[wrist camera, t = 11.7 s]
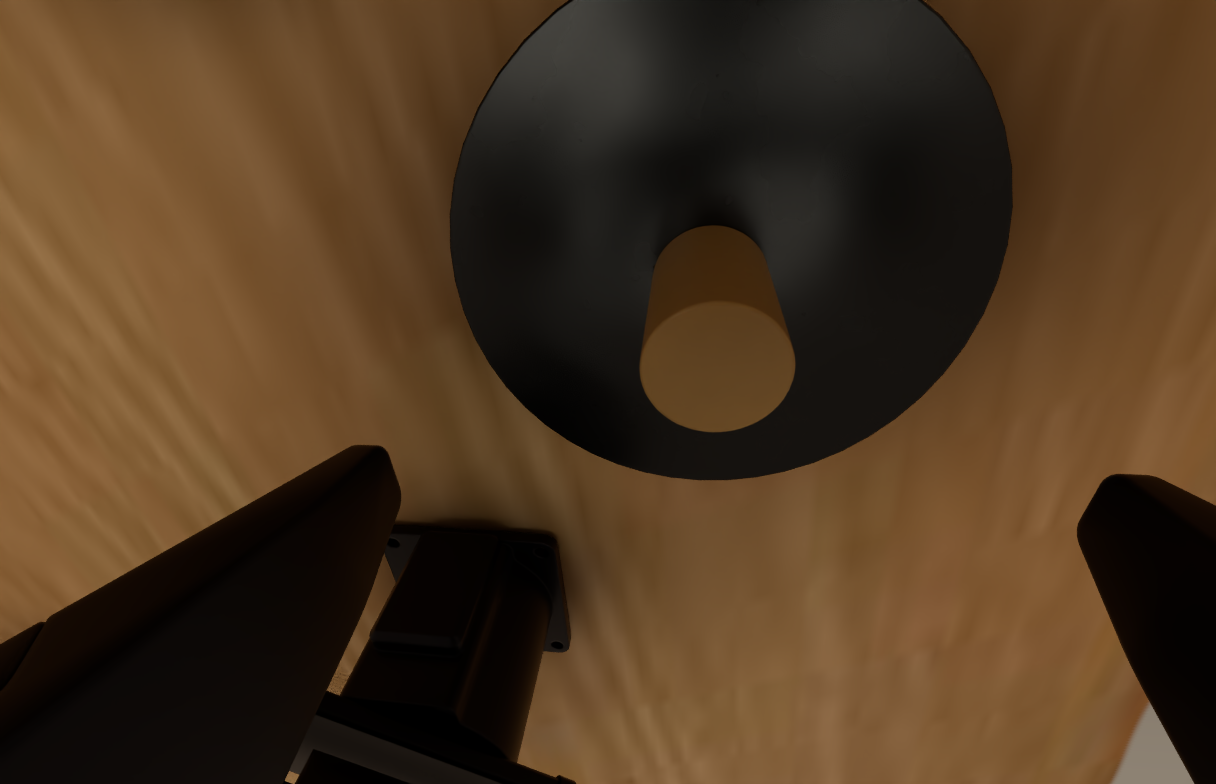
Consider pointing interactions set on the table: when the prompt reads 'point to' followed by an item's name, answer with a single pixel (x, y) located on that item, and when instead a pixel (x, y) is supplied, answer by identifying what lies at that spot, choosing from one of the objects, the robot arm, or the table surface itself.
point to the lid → (730, 225)
